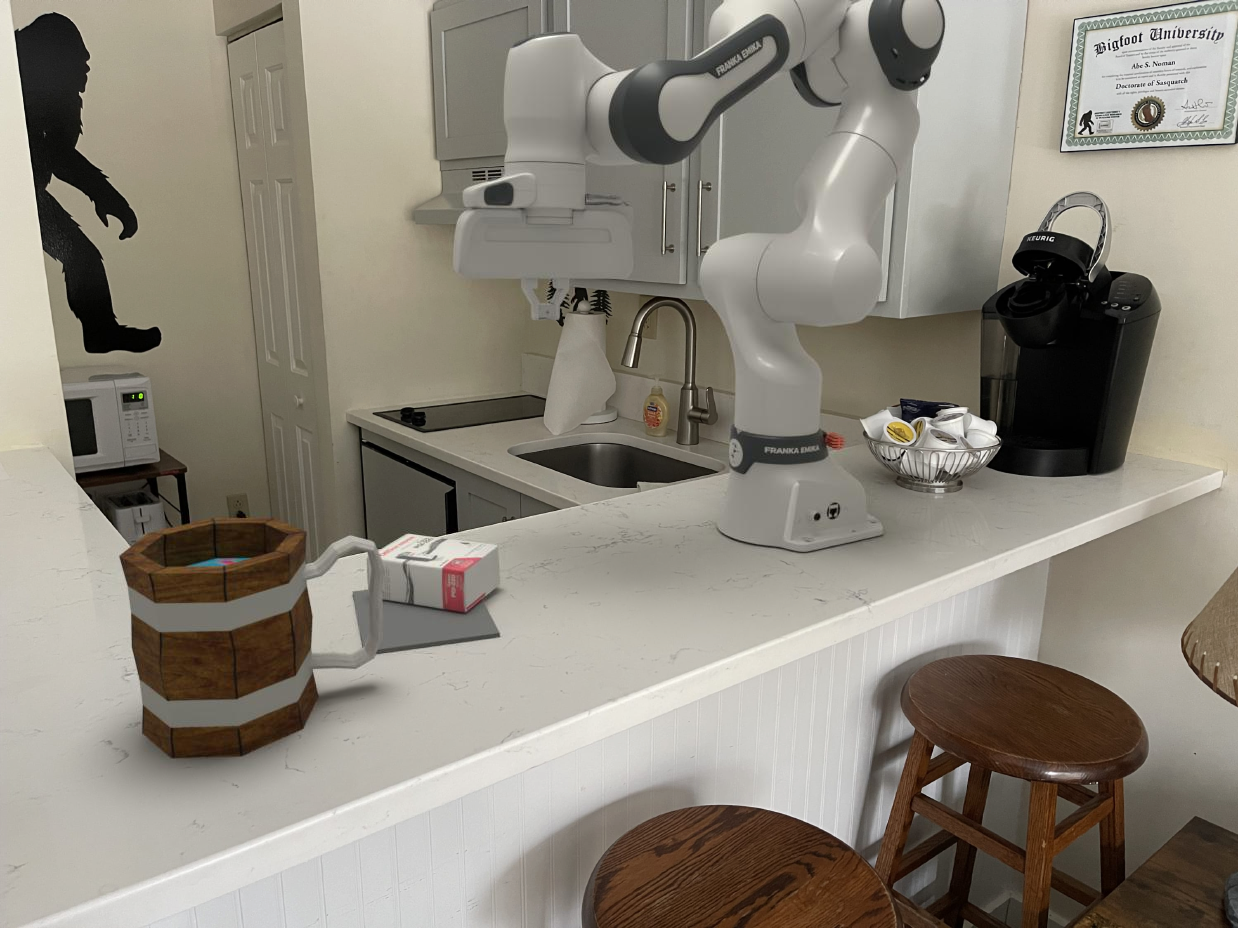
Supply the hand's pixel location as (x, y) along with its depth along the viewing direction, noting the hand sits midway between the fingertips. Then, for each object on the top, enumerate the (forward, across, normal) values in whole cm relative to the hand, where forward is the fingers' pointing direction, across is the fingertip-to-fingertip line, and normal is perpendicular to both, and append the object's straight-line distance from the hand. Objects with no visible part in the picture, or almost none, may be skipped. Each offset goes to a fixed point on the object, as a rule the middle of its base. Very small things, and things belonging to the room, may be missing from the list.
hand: (545, 319), depth 102 cm
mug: (+29, +31, +26) cm, 50 cm away
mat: (+29, +16, +12) cm, 35 cm away
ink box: (+26, +10, +10) cm, 30 cm away
